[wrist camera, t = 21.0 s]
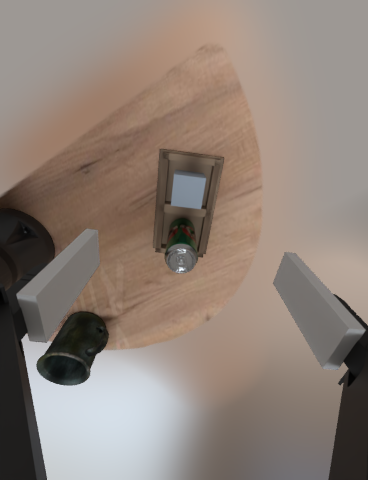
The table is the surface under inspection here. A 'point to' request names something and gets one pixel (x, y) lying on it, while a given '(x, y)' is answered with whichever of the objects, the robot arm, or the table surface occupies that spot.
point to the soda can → (181, 246)
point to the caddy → (198, 217)
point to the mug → (74, 350)
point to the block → (188, 189)
